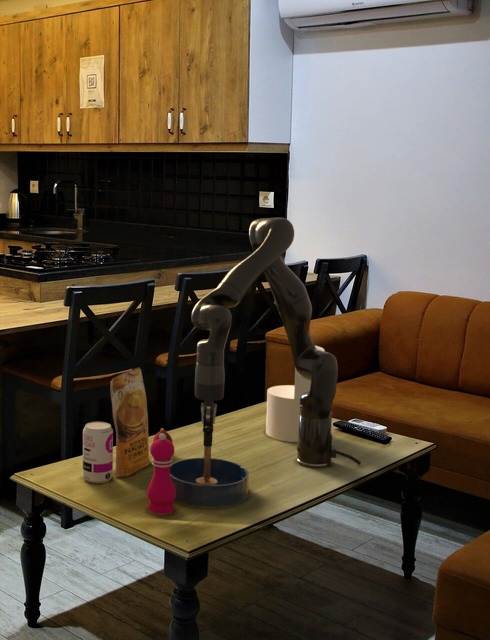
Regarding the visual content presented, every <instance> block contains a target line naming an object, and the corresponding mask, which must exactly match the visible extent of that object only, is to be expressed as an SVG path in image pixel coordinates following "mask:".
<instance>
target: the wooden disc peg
mask: <svg viewBox="0 0 490 640" xmlns="http://www.w3.org/2000/svg"><path fill="white" fill-rule="evenodd" d="M206 427H208V428H211V427H209V426H206ZM203 447H204V448H203V458H204V477H200V478H198V479H196V484H201V485H217V484H218V481H217V480H216V479H214V478H211V477H210V474H211V458H212V446H211V447H206V446H204V445H203Z"/></svg>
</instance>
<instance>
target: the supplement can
mask: <svg viewBox="0 0 490 640" xmlns="http://www.w3.org/2000/svg"><path fill="white" fill-rule="evenodd" d="M113 463H114V430H113V428H112V425H111V424H110V423H108V422H104V421H91V422H88V423H86V424H85V426H84V428H83V429H82V478H83V479H84V480H85V481H86V482H88V483H92V484H103V483H108V482H110V480H111V479H112V478H113V472H114V471H113V470H114V469H113V468H114V466H113Z"/></svg>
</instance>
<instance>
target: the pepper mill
mask: <svg viewBox="0 0 490 640" xmlns="http://www.w3.org/2000/svg"><path fill="white" fill-rule="evenodd" d="M172 442H173V441H172ZM172 442H171V441H169V440H167V439H166V435H165V434H164V433H161V434H160V435H159V439H157V440H155V441H154V442H153V441H152V443H151V445H150V446H149V453H150V455H151V456H152V458H151V465H152V466H153V474H152V478H151V480H150V483H149V485H148V486H147V490H146V497H147V499H148V501H149V503H148V511H149V512H151V513H153V514H157V515H168V514H171V513H174V510H175V504H174V501H175V500H176V499H175V498H176V490H175V487H174V485H173V482H172V480H171V477H170V466H171V465H172V463H173V459H172V457H173V456H174V454H175V445H174V443H172Z"/></svg>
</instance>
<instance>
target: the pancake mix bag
mask: <svg viewBox="0 0 490 640" xmlns="http://www.w3.org/2000/svg"><path fill="white" fill-rule="evenodd" d="M109 384H110V386H109V387H110V388H109V392H110V399H111V406H112V419H113V425H114V429H115V438H116V439H115V441H116V442H115V443H116V445H115V469H114V475H115V477H116V478H121V477H129V476H132V475H134V474H136V473H137V471H140V470H141V469H142V468H145V467H147V466H149V465H150V464H151V461H150V456H149V455H150V454H149V453H150V444H149V443H150V442H149V440H150V438H149V414H148V401H147V400H148V399H147V393H146V388H145V384H144V377H143V372H142V369H141V367H135V368H133V369H131V370H128V371H124V372H122V373H121V374H118V375H116V376H115V377H113V378H112V379H111V380H110V383H109Z"/></svg>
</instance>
